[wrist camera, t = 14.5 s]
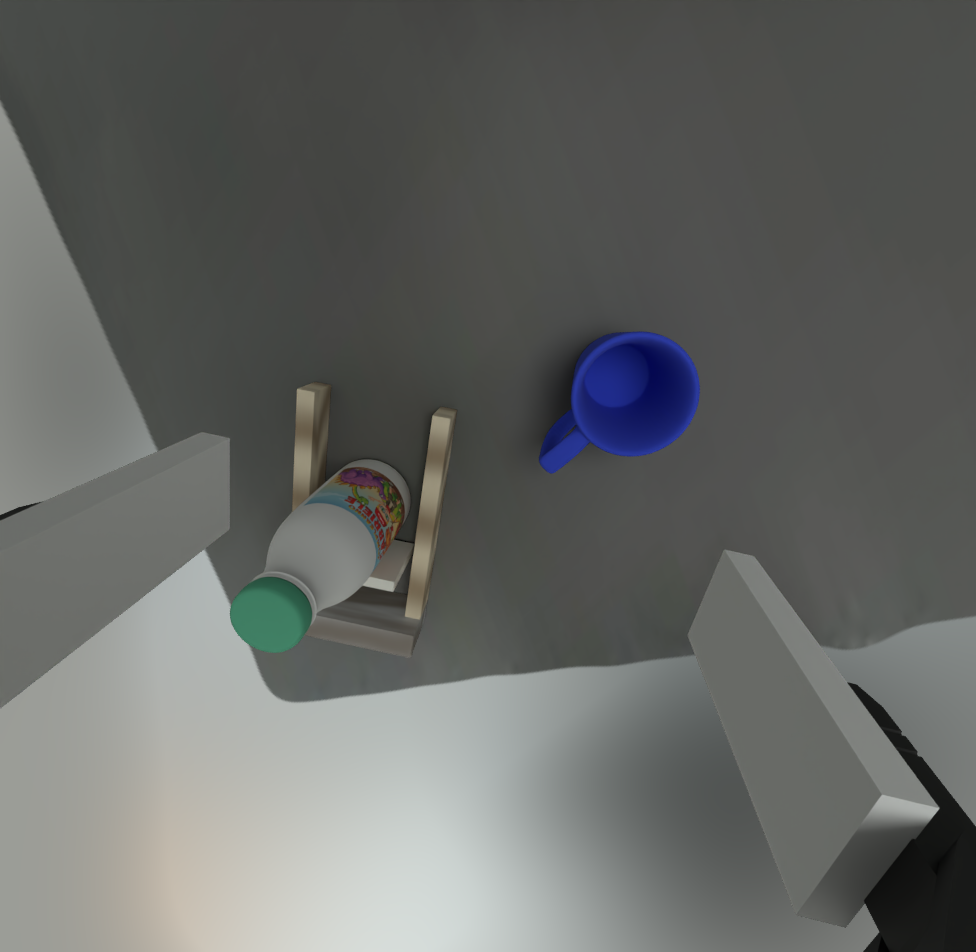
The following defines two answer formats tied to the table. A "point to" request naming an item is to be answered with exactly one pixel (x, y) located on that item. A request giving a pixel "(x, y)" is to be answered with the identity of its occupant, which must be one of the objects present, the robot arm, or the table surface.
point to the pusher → (391, 566)
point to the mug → (625, 398)
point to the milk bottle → (322, 554)
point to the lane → (399, 616)
